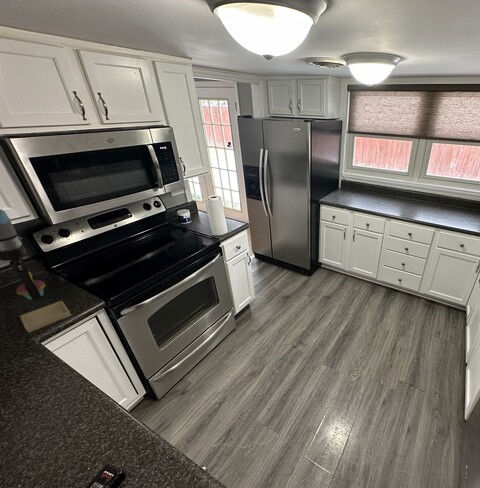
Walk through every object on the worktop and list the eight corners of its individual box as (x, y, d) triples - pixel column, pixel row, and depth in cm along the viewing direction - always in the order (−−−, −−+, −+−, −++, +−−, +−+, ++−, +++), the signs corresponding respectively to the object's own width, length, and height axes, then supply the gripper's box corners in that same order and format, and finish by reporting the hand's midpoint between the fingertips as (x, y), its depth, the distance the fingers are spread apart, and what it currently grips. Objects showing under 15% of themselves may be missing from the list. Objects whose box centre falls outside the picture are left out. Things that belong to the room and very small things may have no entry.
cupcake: (39, 289, 119) (27, 266, 114) (54, 292, 117) (43, 268, 112) (16, 300, 111) (1, 276, 106) (31, 303, 110) (18, 279, 104)
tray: (21, 319, 117) (19, 315, 116) (63, 303, 128) (61, 300, 127) (27, 332, 110) (25, 329, 110) (71, 315, 121) (69, 311, 120)
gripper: (28, 252, 101) (52, 300, 111) (18, 238, 112) (41, 282, 122) (-1, 260, 96) (27, 309, 105) (-9, 243, 107) (17, 289, 117)
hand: (34, 294), depth 114 cm, fingers closed on cupcake, 8 cm apart
